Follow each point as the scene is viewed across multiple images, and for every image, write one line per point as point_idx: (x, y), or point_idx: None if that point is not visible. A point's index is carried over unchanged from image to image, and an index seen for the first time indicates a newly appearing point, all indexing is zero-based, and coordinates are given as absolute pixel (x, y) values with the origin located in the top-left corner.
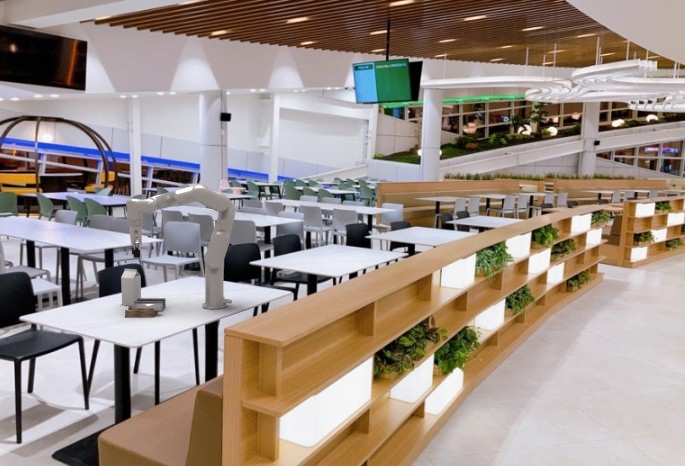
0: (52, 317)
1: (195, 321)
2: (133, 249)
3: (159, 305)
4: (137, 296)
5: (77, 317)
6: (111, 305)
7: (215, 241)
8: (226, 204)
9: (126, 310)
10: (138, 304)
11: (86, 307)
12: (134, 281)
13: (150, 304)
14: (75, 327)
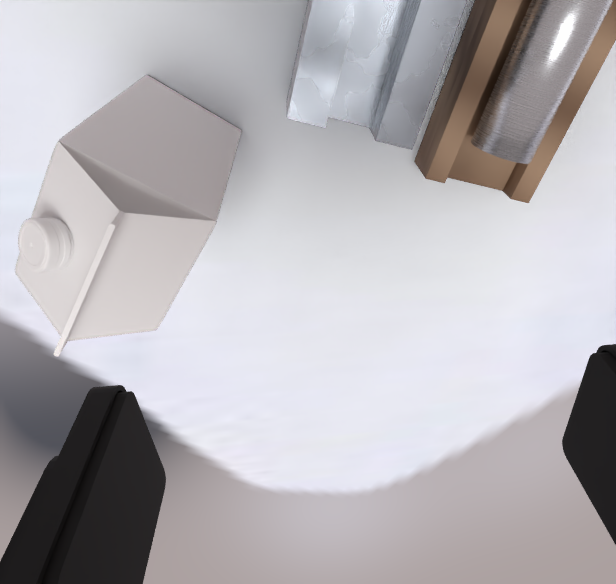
0: (364, 463)
1: None
2: (130, 579)
3: None
4: (186, 119)
5: (401, 391)
6: (198, 267)
7: None
8: None
9: (531, 193)
10: (546, 117)
11: (222, 374)
12: (204, 195)
13: (601, 7)
14: (563, 384)
